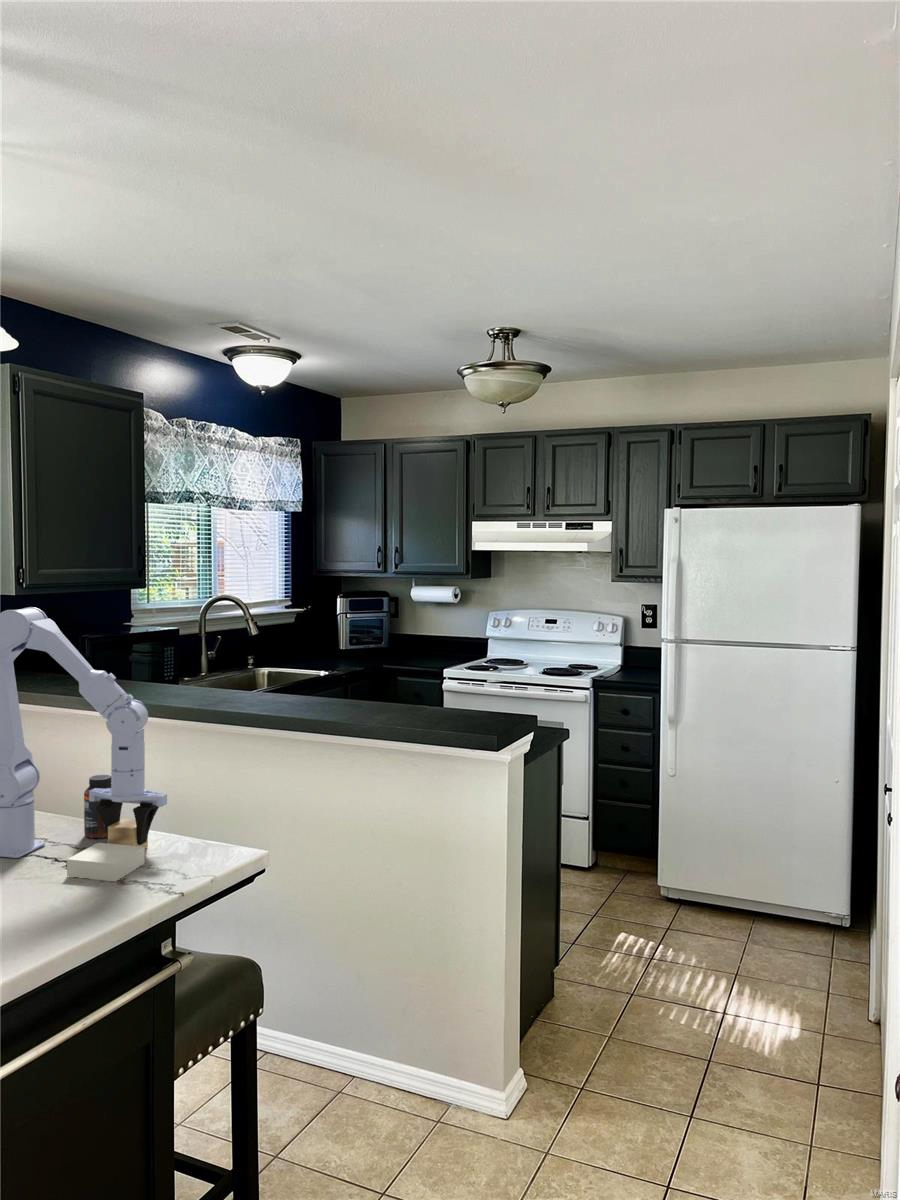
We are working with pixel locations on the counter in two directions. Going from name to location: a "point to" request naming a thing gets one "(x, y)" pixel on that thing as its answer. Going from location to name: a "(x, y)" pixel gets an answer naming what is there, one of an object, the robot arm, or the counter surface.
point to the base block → (105, 861)
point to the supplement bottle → (91, 817)
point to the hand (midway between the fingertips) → (128, 841)
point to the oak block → (124, 833)
